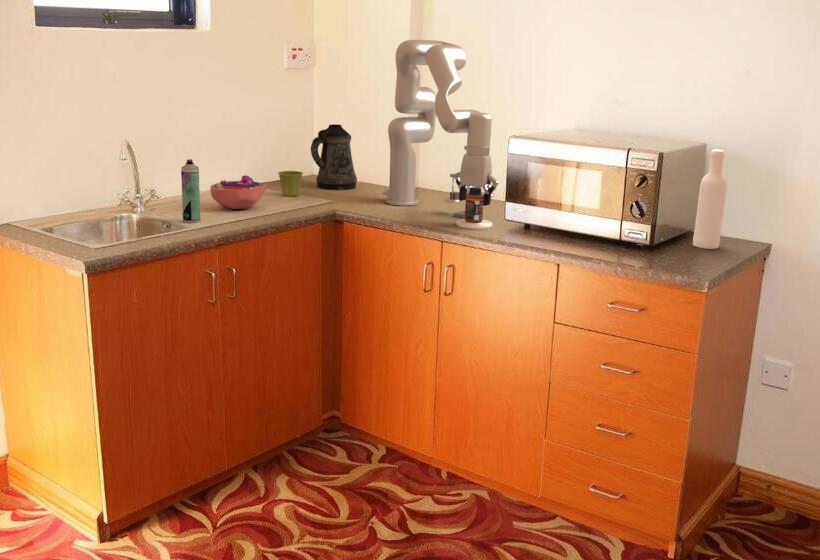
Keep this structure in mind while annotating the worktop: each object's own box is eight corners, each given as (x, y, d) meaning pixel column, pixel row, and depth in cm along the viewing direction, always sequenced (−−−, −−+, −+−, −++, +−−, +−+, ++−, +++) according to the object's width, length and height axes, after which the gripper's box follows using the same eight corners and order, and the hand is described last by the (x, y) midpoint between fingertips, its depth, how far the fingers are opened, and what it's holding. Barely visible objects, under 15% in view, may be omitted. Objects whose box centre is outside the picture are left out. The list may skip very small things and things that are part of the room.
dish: (449, 225, 287) (449, 221, 287) (470, 220, 296) (470, 216, 296) (478, 231, 280) (478, 227, 280) (499, 225, 289) (499, 222, 288)
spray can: (194, 218, 284) (192, 158, 278) (203, 221, 280) (201, 160, 274) (179, 220, 280) (177, 159, 274) (188, 223, 276) (186, 161, 271)
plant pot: (301, 198, 326) (301, 175, 323) (276, 197, 326) (276, 174, 323) (304, 193, 335) (304, 171, 332) (280, 192, 335) (280, 170, 332)
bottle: (688, 242, 274) (700, 148, 266) (712, 243, 274) (725, 148, 266) (698, 249, 266) (710, 151, 258) (723, 249, 267) (736, 152, 259)
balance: (439, 213, 305) (441, 173, 302) (450, 211, 310) (451, 172, 306) (486, 222, 293) (488, 181, 289) (496, 220, 298) (498, 179, 294)
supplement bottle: (481, 224, 284) (483, 190, 281) (463, 222, 286) (465, 188, 282) (483, 220, 290) (485, 187, 287) (466, 219, 291) (467, 185, 288)
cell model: (201, 207, 302) (200, 175, 299) (250, 201, 315) (250, 171, 312) (225, 215, 290) (224, 182, 287) (276, 209, 303) (275, 177, 300)
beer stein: (363, 185, 356) (364, 124, 349) (343, 192, 339) (344, 128, 332) (327, 182, 362) (327, 121, 355) (305, 189, 344) (305, 125, 337)
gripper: (449, 148, 284) (446, 199, 289) (493, 155, 273) (489, 208, 278) (463, 146, 289) (460, 197, 294) (506, 153, 279) (502, 205, 284)
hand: (474, 202), depth 286 cm, fingers open, 9 cm apart
